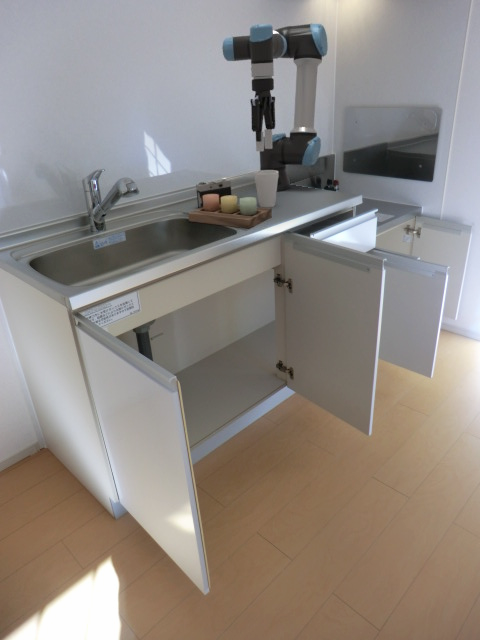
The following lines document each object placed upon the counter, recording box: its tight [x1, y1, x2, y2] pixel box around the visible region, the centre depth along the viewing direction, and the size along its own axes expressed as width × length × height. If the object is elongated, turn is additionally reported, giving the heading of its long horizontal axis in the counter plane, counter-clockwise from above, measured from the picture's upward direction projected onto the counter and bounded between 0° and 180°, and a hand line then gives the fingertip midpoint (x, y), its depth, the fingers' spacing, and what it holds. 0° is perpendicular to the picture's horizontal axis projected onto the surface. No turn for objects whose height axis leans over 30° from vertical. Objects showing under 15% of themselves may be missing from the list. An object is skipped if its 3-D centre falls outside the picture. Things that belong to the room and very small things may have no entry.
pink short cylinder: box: [203, 194, 220, 211], centre depth 179 cm, size 6×6×5 cm
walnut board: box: [188, 204, 273, 229], centre depth 177 cm, size 16×26×3 cm, turn 58°
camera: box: [195, 178, 232, 209], centre depth 197 cm, size 14×8×10 cm, turn 120°
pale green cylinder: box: [238, 196, 258, 215], centre depth 172 cm, size 6×6×5 cm
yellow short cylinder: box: [221, 194, 239, 213], centre depth 176 cm, size 6×6×5 cm
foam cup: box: [253, 170, 279, 208], centre depth 191 cm, size 10×9×13 cm
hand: (264, 149), depth 174 cm, fingers open, 6 cm apart
